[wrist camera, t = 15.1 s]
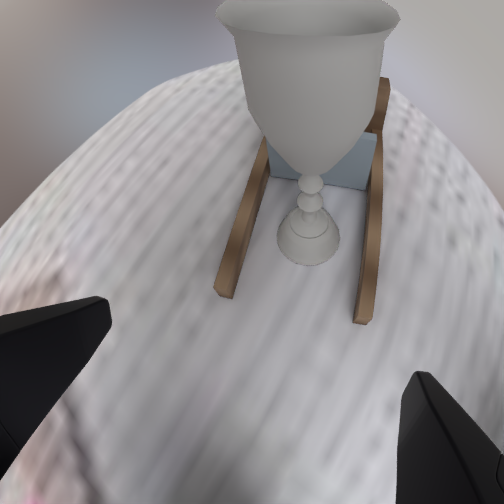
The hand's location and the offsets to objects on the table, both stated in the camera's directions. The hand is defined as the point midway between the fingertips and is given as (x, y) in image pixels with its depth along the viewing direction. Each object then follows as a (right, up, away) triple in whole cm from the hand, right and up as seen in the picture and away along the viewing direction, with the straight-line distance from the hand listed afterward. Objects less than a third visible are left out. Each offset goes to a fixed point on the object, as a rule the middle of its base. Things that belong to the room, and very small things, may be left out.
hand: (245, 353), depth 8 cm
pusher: (+6, +9, +18) cm, 21 cm away
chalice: (+5, +4, +17) cm, 18 cm away
